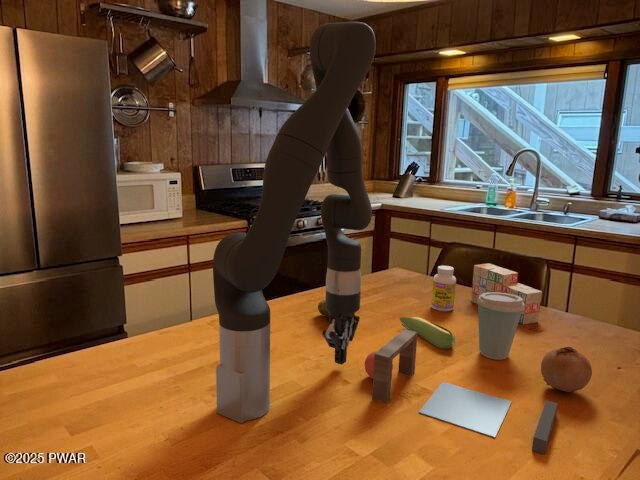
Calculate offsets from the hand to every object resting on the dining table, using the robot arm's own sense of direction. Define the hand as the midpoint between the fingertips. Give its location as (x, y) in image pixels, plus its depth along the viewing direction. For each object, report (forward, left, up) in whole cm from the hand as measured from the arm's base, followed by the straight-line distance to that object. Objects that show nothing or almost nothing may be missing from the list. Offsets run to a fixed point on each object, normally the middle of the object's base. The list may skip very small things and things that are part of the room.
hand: (340, 362), depth 109 cm
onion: (+18, -43, -2) cm, 47 cm away
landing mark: (0, -28, -2) cm, 28 cm away
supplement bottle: (+52, -6, -2) cm, 52 cm away
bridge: (0, -13, -2) cm, 13 cm away
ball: (+1, -9, +2) cm, 9 cm away
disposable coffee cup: (+28, -27, -2) cm, 39 cm away
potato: (+24, +15, -2) cm, 28 cm away
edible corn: (+28, -9, -2) cm, 30 cm away
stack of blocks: (+61, -22, -2) cm, 65 cm away
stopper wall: (0, -42, -2) cm, 42 cm away
